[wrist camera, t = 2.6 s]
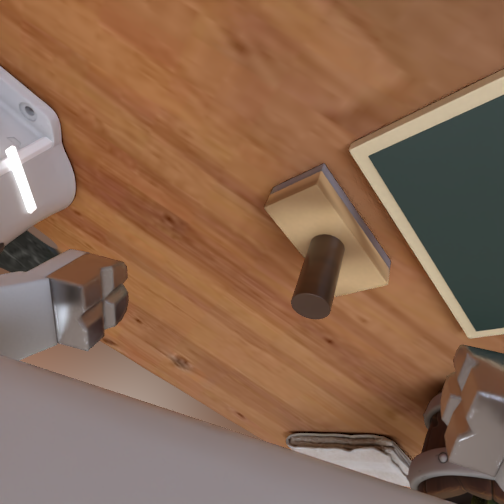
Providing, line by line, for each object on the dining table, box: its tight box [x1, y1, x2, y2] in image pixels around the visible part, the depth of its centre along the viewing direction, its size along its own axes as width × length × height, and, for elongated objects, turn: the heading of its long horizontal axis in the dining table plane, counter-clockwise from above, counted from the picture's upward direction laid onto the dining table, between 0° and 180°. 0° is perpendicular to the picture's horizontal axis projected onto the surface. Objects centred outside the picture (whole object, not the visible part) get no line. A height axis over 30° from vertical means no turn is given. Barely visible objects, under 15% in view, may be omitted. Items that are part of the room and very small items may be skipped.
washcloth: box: [286, 433, 412, 487], centre depth 64 cm, size 12×18×3 cm, turn 128°
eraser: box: [264, 164, 391, 319], centre depth 32 cm, size 11×5×9 cm, turn 40°
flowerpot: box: [406, 391, 504, 504], centre depth 39 cm, size 14×15×20 cm
